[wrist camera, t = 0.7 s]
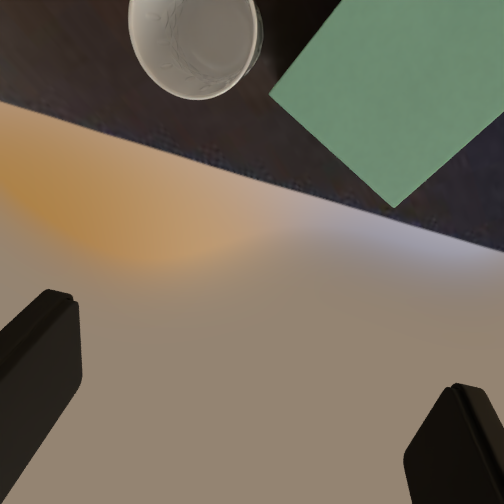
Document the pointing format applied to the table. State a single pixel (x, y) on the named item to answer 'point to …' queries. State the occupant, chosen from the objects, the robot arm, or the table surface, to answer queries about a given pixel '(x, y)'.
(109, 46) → the table surface
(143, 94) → the table surface
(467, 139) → the bin lid
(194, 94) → the white cup
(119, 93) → the table surface
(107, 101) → the table surface
